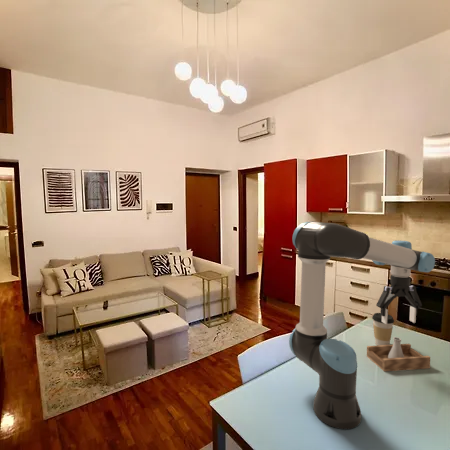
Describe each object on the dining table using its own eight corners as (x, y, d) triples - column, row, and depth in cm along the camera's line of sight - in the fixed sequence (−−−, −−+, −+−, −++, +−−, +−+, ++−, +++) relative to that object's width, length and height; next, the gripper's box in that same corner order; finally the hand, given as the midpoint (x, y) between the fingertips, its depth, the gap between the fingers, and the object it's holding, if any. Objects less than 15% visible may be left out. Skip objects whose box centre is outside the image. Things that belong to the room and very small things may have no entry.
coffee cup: (393, 343, 147) (394, 314, 146) (392, 351, 139) (394, 321, 138) (372, 338, 152) (373, 311, 152) (370, 346, 144) (371, 317, 143)
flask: (408, 365, 125) (409, 343, 125) (390, 363, 127) (391, 341, 126) (402, 356, 132) (402, 335, 132) (385, 355, 134) (385, 334, 133)
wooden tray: (384, 371, 122) (384, 360, 122) (366, 356, 134) (367, 346, 134) (429, 368, 124) (430, 357, 124) (408, 353, 137) (409, 343, 136)
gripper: (379, 278, 122) (377, 326, 123) (433, 276, 124) (430, 324, 126) (368, 274, 129) (367, 320, 131) (419, 272, 132) (417, 317, 133)
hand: (398, 322), depth 128 cm, fingers open, 13 cm apart
